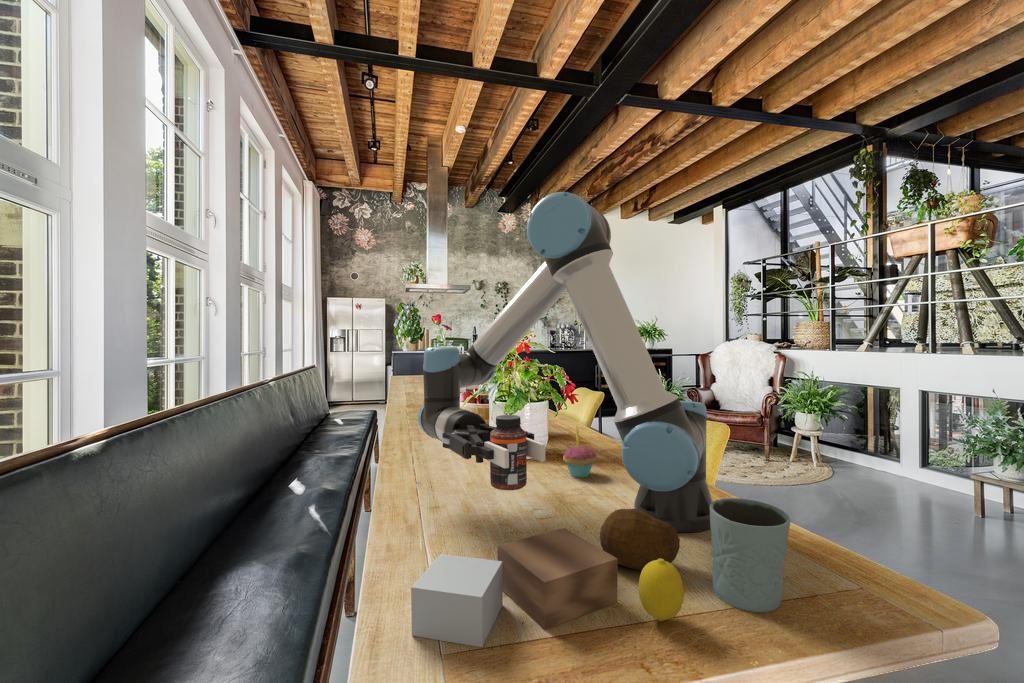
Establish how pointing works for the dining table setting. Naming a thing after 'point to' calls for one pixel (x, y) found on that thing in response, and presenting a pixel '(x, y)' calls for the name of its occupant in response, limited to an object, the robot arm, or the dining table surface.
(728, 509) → the grey green planter pot
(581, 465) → the cupcake
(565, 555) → the walnut block
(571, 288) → the robot arm
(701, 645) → the dining table surface
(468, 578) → the grey block
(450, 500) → the dining table surface
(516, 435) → the supplement bottle
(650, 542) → the potato
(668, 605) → the lemon
